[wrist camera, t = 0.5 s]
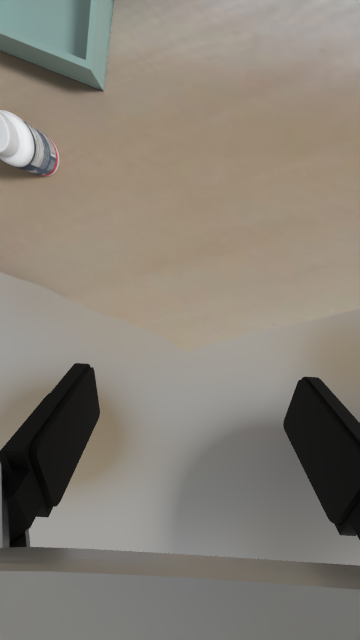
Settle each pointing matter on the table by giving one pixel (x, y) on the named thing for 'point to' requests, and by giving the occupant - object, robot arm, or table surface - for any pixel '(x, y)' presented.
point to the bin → (59, 36)
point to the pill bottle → (26, 146)
